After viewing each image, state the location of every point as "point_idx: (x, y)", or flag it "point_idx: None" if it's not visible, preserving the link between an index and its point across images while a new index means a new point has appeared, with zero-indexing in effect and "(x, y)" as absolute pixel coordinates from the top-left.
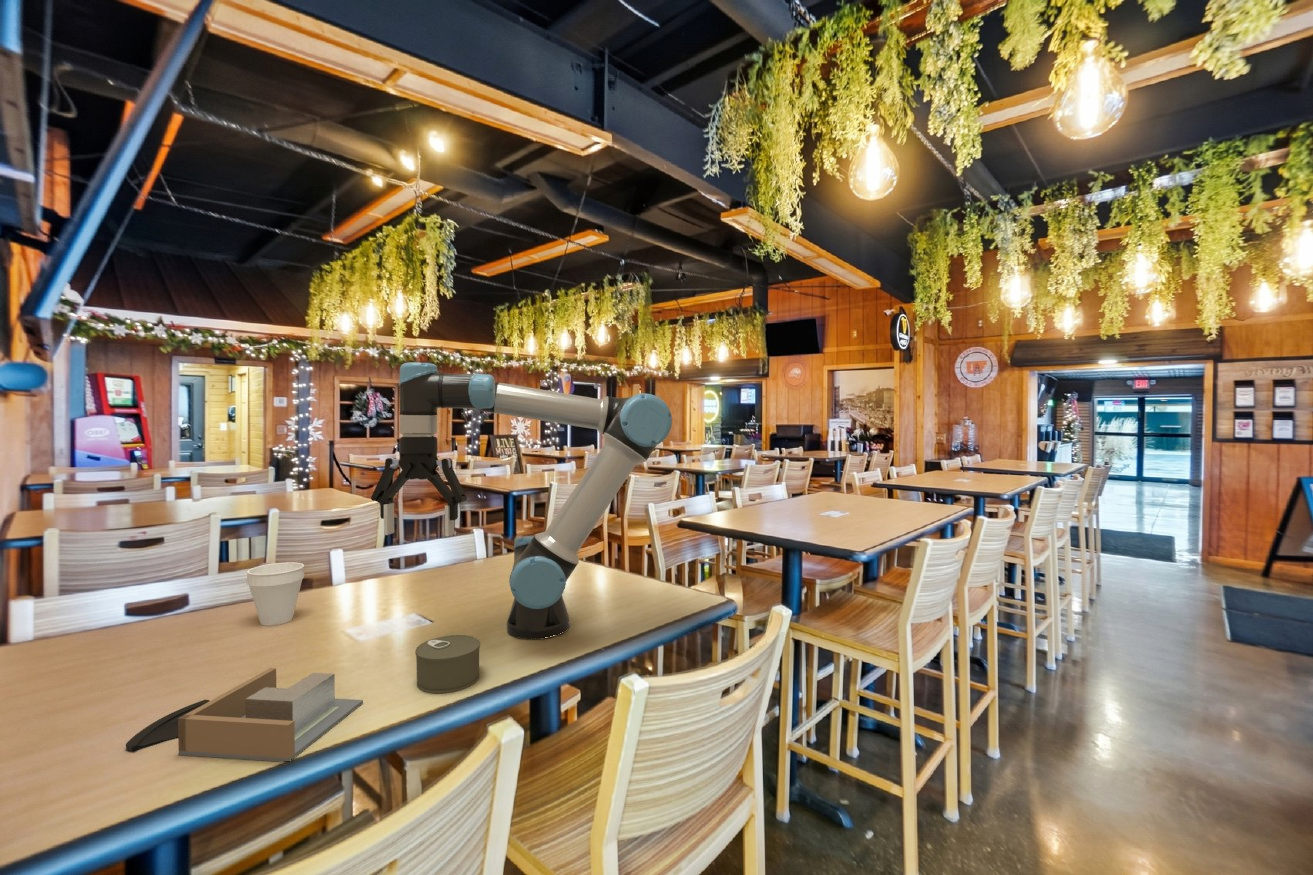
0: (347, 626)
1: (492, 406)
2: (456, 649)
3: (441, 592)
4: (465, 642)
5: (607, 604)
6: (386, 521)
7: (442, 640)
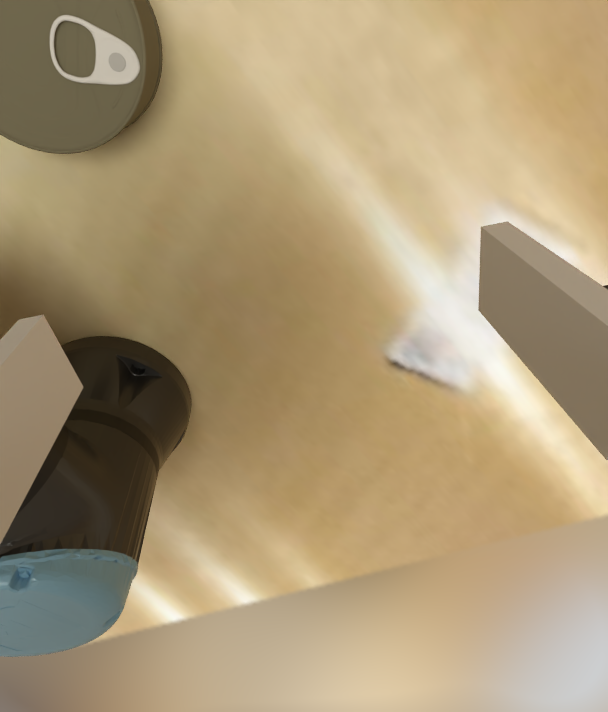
0: None
1: None
2: (4, 39)
3: (477, 499)
4: (29, 108)
5: None
6: (537, 265)
7: (108, 93)
